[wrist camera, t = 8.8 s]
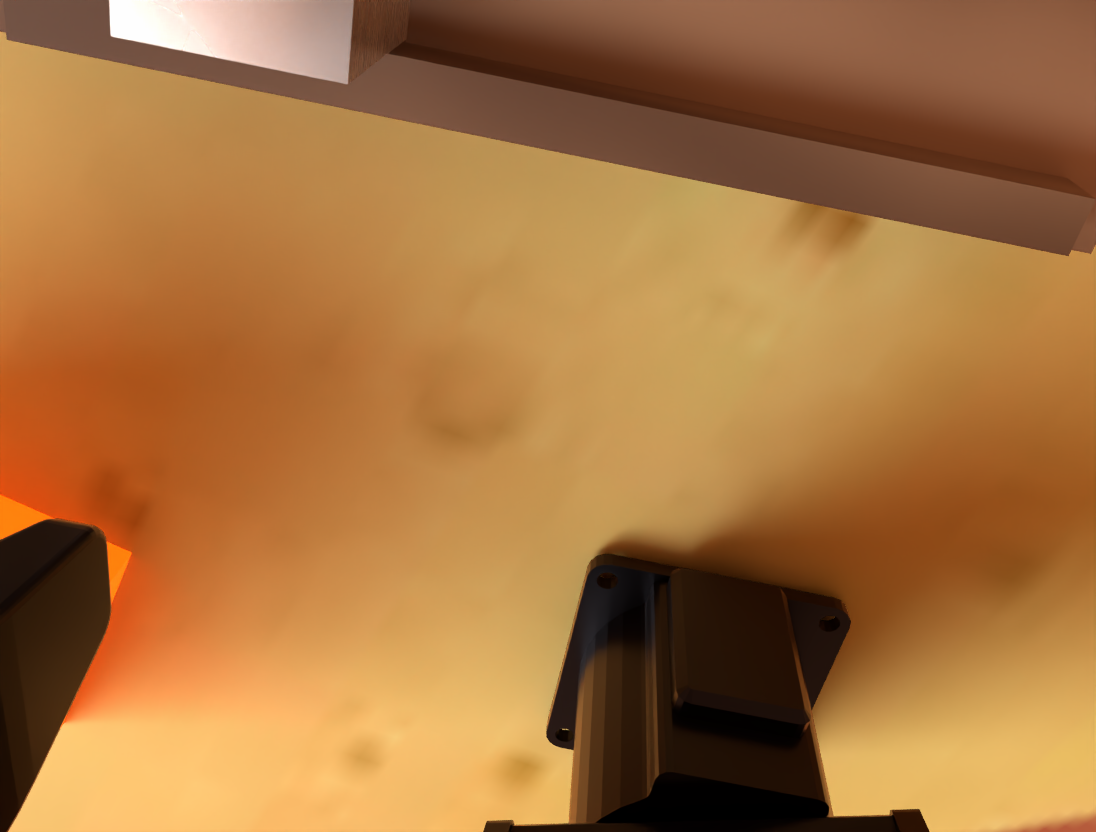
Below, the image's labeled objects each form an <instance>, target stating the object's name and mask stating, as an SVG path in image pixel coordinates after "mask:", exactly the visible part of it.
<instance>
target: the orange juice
mask: <svg viewBox="0 0 1096 832" xmlns="http://www.w3.org/2000/svg"><path fill="white" fill-rule="evenodd" d="M50 518H52V517H50V516H48V515H45V514H43V513H41V512H39V511H36V510H34V509H32V508H29V507H27V506H25V505H23V504H20V503H18V502H16V501H14V500H11V499H9V498H7V497H5V496H2V495H0V539H2V538H4V537H7V536H9V535H11V534H13V533H15V532H17V531H20V530H22V529H24V528H26V527H28V526H30V525H33V524H35V523H37V522H39V521H42V520H45V519H50ZM52 519H54V518H52ZM107 547H108V561H109V576H110V590H111V604H112V601H113V599H114V596H115V594H116V591H117V589H118V586H119V584H120V581H121V579H122V576H123V574H124V571H125V569H126V566H127V564H128V561H129V559H130V556H131V554H132V553H131V552H129V551H127V550H125V549H122V548H120V547H118V546H116V545H113V544H111V543H109V542H107ZM67 714H68V713H67ZM66 716H67V715H66ZM65 718H66V717H65ZM64 721H65V720H64ZM63 723H64V722H63ZM62 725H63V724H62ZM61 727H62V726H61Z"/></svg>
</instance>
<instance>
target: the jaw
mask: <svg viewBox="0 0 1096 832" xmlns="http://www.w3.org/2000/svg"><path fill="white" fill-rule="evenodd" d="M109 7H110V27H111V36H113V37H118V38H123V39H128V40H133V41H138V42H142V43H147V44H152V45H157V46H162V47H167V48H172V49H177V50H182V51H186V52H191V53H196V54H201V55H206V56H211V57H216V58H221V59H226V60H231V61H235V62H240V63H245V64H250V65H255V66H260V67H265V68H270V69H275V70H279V71H284V72H289V73H294V74H299V75H304V76H309V77H314V78H319V79H324V80H328V81H333V82H338V83H343V84H349V83H350V82H352V81H353V80H354V79H355V78H357V77H358V76H359V75H361V74H362V73H363V72H365V71H366V70H367V69H368V68H370V67H371V66H372V65H374V64H375V63H376V62H377V61H379V60H380V59H381V58H383V57H384V56H385V55H387V54H388V53H389V52H390V51H392V50H393V49H394V48H396V47H397V46H398V45H399V44H401V43H402V42H403V41H405V40H406V39H407V30H408V20H409V10H410V0H109Z"/></svg>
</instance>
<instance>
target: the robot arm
mask: <svg viewBox="0 0 1096 832" xmlns="http://www.w3.org/2000/svg"><path fill="white" fill-rule="evenodd" d="M602 573H612V574H614V575H615V577H612V578H604V577H601V576H600V574H602ZM110 615H111V590H110V576H109V561H108V547H107V540H106V537H105V535H104V532H103V531H102V530H101V529H99V528H98V527H96V526H93V525H88V524H83V523H78V522H73V521H68V520H62V519H52V518H50V519H45V520H42V521H39V522H37V523H35V524H33V525H30V526H28V527H26V528H24V529H22V530H20V531H17V532H15V533H13V534H11V535H9V536H7V537H4V538H2V539H0V832H8V831H9V829H10V827H11V826H12V824H13V822H14V820H15V819H16V817H17V815H18V813H19V812H20V810H21V808H22V806H23V804H24V802H25V800H26V798H27V796H28V794H29V792H30V790H31V788H32V786H33V784H34V782H35V780H36V778H37V776H38V774H39V772H40V770H41V768H42V766H43V763H44V761H45V759H46V757H47V755H48V753H49V751H50V749H51V747H52V745H53V743H54V740H55V738H56V736H57V734H58V732H59V730H60V728H61V726H62V724H63V722H64V720H65V717H66V715H67V713H68V711H69V709H70V707H71V705H72V703H73V701H74V699H75V696H76V694H77V692H78V690H79V688H80V686H81V684H82V682H83V680H84V678H85V676H86V673H87V671H88V669H89V667H90V665H91V663H92V661H93V659H94V657H95V655H96V652H97V650H98V648H99V646H100V644H101V642H102V640H103V638H104V635H105V633H106V630H107V627H108V624H109V620H110ZM826 616H835V617H834V618H833V619H831V620H821V619H822V618H824V617H826ZM850 623H851V621H850V617H849V614H848V610H847V608H846V605H845V604H844V603H843V602H842V601H841V600H839V599H836V598H834V597H829V596H824V595H818V594H813V593H808V592H803V591H798V590H793V589H787V588H782V587H778V586H774V585H768V584H763V583H758V582H753V581H748V580H743V579H738V578H732V577H727V576H722V575H717V574H712V573H707V572H701V571H696V570H691V569H686V568H679V567H674V566H669V565H664V564H659V563H654V562H648V561H643V560H638V559H633V558H628V557H623V556H617V555H612V554H603V555H599V556H596V557H595V558H594V559H592V560H591V561H590V563H589V565H588V567H587V571H586V575H585V579H584V582H583V586H582V590H581V594H580V598H579V602H578V605H577V609H576V613H575V617H574V621H573V625H572V629H571V632H570V636H569V640H568V644H567V648H566V652H565V655H564V659H563V663H562V667H561V671H560V675H559V678H558V682H557V686H556V690H555V694H554V698H553V701H552V705H551V709H550V713H549V717H548V721H547V731H546V734H547V738H548V740H549V742H551V743H552V744H553V745H555V746H558V747H561V748H566V749H571V750H574V753H573V768H572V783H571V797H570V812H569V824H531V825H514V822H513V820H502V821H487V822H486V825H485V828H484V831H483V832H929V830H928V827H927V825H926V823H925V821H924V819H923V816H922V814H921V812H920V810H919V809H907V810H890V815H871V816H833V811H832V807H831V802H830V797H829V792H828V787H827V783H826V778H825V773H824V768H823V763H822V759H821V754H820V749H819V744H818V739H817V735H816V730H815V725H814V720H813V716H812V711H811V710H812V708H813V706H814V704H815V702H816V700H817V697H818V695H819V693H820V691H821V689H822V687H823V684H824V682H825V680H826V678H827V676H828V673H829V671H830V669H831V667H832V665H833V663H834V660H835V658H836V656H837V654H838V652H839V650H840V647H841V645H842V643H843V641H844V639H845V637H846V634H847V632H848V630H849V628H850ZM562 729H569V730H562Z"/></svg>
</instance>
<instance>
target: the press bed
mask: <svg viewBox="0 0 1096 832" xmlns="http://www.w3.org/2000/svg"><path fill="white" fill-rule="evenodd" d="M0 31H1V32H6V35H7V40H11V41H15V42H20V43H25V44H30V45H35V46H40V47H45V48H50V49H55V50H60V51H65V52H69V53H74V54H79V55H84V56H89V57H94V58H99V59H104V60H109V61H114V62H119V63H123V64H128V65H133V66H138V67H143V68H148V69H153V70H158V71H163V72H168V73H172V74H177V75H182V76H187V77H192V78H197V79H202V80H207V81H212V82H217V83H222V84H226V85H231V86H236V87H241V88H246V89H251V90H256V91H261V92H266V93H271V94H276V95H280V96H285V97H290V98H295V99H300V100H305V101H310V102H315V103H320V104H325V105H330V106H334V107H339V108H344V109H349V110H354V111H359V112H364V113H369V114H374V115H379V116H384V117H388V118H393V119H398V120H403V121H408V122H413V123H418V124H423V125H428V126H433V127H438V128H442V129H447V130H452V131H457V132H462V133H467V134H472V135H477V136H482V137H487V138H492V139H496V140H501V141H506V142H511V143H516V144H521V145H526V146H531V147H536V148H541V149H545V150H550V151H555V152H560V153H565V154H570V155H575V156H580V157H585V158H590V159H595V160H599V161H604V162H609V163H614V164H619V165H624V166H629V167H634V168H639V169H644V170H649V171H653V172H658V173H663V174H668V175H673V176H678V177H683V178H688V179H693V180H698V181H703V182H707V183H712V184H717V185H722V186H727V187H732V188H737V189H742V190H747V191H752V192H757V193H761V194H766V195H771V196H776V197H781V198H786V199H791V200H796V201H801V202H806V203H811V204H815V205H820V206H825V207H830V208H835V209H840V210H845V211H850V212H855V213H860V214H864V215H869V216H874V217H879V218H884V219H889V220H894V221H899V222H904V223H909V224H914V225H918V226H923V227H928V228H933V229H938V230H943V231H948V232H953V233H958V234H963V235H968V236H972V237H977V238H982V239H987V240H992V241H997V242H1002V243H1007V244H1012V245H1017V246H1022V247H1026V248H1031V249H1036V250H1041V251H1046V252H1051V253H1056V254H1061V255H1066V256H1069V254H1070V252H1071V250H1075V251H1080V252H1085V253H1090V254H1091V253H1092V251H1093V249H1094V247H1095V245H1096V0H410V10H409V20H408V30H407V39H406V40H405V41H403V42H402V43H401V44H399V45H398V46H397V47H396V48H394V49H393V50H392V51H390V52H389V53H388V54H387V55H385V56H384V57H383V58H381V59H380V60H379V61H377V62H376V63H375V64H374V65H372V66H371V67H370V68H368V69H367V70H366V71H365V72H363V73H362V74H361V75H359V76H358V77H357V78H355V79H354V80H353V81H352V82H350V83H349V84H343V83H338V82H333V81H328V80H324V79H319V78H314V77H309V76H304V75H299V74H294V73H289V72H284V71H279V70H275V69H270V68H265V67H260V66H255V65H250V64H245V63H240V62H235V61H231V60H226V59H221V58H216V57H211V56H206V55H201V54H196V53H191V52H186V51H182V50H177V49H172V48H167V47H162V46H157V45H152V44H147V43H142V42H138V41H133V40H128V39H123V38H118V37H113V36H111V27H110V7H109V0H0Z"/></svg>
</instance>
